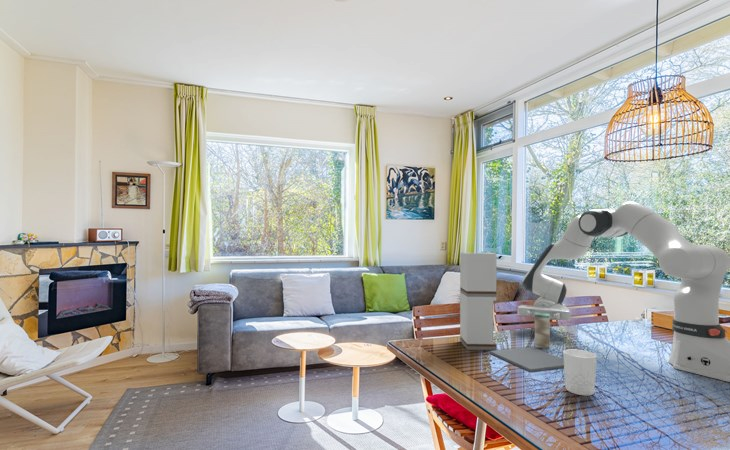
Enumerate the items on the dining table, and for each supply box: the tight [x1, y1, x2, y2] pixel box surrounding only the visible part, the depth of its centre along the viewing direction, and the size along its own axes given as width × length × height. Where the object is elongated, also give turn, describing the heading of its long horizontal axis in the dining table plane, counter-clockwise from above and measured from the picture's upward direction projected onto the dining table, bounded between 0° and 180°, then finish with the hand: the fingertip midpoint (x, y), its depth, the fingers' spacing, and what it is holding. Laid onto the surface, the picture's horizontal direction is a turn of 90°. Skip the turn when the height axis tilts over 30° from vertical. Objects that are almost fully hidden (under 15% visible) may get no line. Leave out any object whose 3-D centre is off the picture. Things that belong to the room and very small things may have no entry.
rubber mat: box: [489, 346, 564, 373], centre depth 133 cm, size 20×18×1 cm
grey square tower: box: [459, 251, 498, 351], centre depth 150 cm, size 11×11×35 cm
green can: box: [534, 312, 551, 349], centre depth 149 cm, size 5×5×12 cm
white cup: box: [562, 348, 597, 396], centre depth 106 cm, size 8×8×10 cm
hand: (542, 315), depth 161 cm, fingers open, 8 cm apart
